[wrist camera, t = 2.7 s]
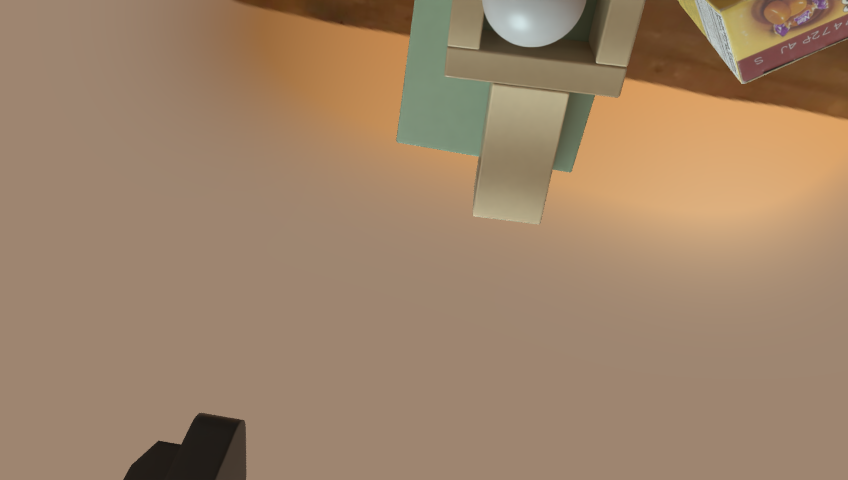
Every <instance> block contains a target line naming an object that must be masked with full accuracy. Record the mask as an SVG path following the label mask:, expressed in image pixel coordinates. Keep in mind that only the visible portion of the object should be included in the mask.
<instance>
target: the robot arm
mask: <svg viewBox="0 0 848 480" xmlns="http://www.w3.org/2000/svg"><path fill="white" fill-rule="evenodd" d="M124 480H246V427H245V421H244V420H239V419H234V418H227V417H222V416H216V415H211V414H205V413H199V414H198V415H197V416H196V417H195V419H194V420H193V422H192V424H191V426H190V428H189V430H188V432H187V434H186V436H185V438H184V440H183V442H182V444H181V445H180V444H174V443H168V442H163V441H158V442H157V443H156V444H154V445H153V446H152V447H151V448H150V449H149V450H148V451H147V452H146V453H144V454H143V455H142V456H141V457H140V458H139V459H138V460H137V461H136V462H134V463H133V464H132V465H131V467H130V469H129V470H128V472H127V474H126V476H125V478H124Z"/></svg>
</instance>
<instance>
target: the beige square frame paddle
mask: <svg viewBox="0 0 848 480" xmlns="http://www.w3.org/2000/svg"><path fill="white" fill-rule="evenodd" d="M644 4H645V0H597V4H596V8H595V13H594V17H593V21H592V26H591V30H590V34H589V39H588V40H589V42H584V41H575V40H567V39H559V40H557V41H555V42H553V43H551V44H548V45H545V46H540V47H523V46H519V45H515V44H513V43H510V42H509V41H507V40H505V39H504V38H502V37H501V36H500V35H499V34H498V33H497V32H496V31H490V30H482V28H483V20H484V9H483V4H482V0H452V7H451V16H450V25H449V34H448V43H447V44H448V46H447V52H446V62H445V71H444V76H445V77H450V78H458V79H466V80H475V81H483V82H490V86H489V93H488V99H487V106H486V112H485V119H484V126H483V132H482V139H481V145H480V152H479V159H478V166H477V172H476V179H475V186H474V200H473V216H477V217H486V218H493V219H501V220H509V221H517V222H526V223H534V224H540V223H541V219H542V214H543V209H544V205H545V201H546V196H547V191H548V187H549V183H550V178H551V174H552V170H553V165H554V161H555V156H556V152H557V147H558V143H559V138H560V134H561V129H562V125H563V120H564V116H565V112H566V107H567V103H568V98H569V92H574V93H583V94H591V95H600V96H609V97H616V98H618V97H619V96H620V93H621V89H622V86H623V82H624V78H625V75H626V71H627V68H626V66H627V65H628V63H629V60H630V56H631V52H632V48H633V45H634V41H635V37H636V34H637V30H638V26H639V22H640V19H641V15H642V11H643V8H644Z"/></svg>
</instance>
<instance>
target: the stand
mask: <svg viewBox="0 0 848 480" xmlns="http://www.w3.org/2000/svg"><path fill="white" fill-rule="evenodd" d="M482 4H483V9H484V20H483V28H482V30H490V31H496V32H497V33H498V34H499V35H500V36H501V37H502V38H504V39H505V40H507V41H509V42H510V43H513V44H515V45H519V46H523V47H540V46H545V45H548V44H551V43H553V42H555V41H557V40H559V39H567V40H575V41H584V42H589V40H588V39H589V34H590V30H591V26H592V21H593V17H594V13H595V8H596V4H597V0H482ZM451 7H452V0H415V3H414V10H413V18H412V25H411V33H410V41H409V48H408V56H407V64H406V71H405V78H404V86H403V95H402V101H401V109H400V117H399V124H398V132H397V140H396V141H397V142H398V143H405V144H410V145H416V146H421V147H428V148H433V149H439V150H444V151H450V152H456V153H462V154H467V155H473V156H479V152H480V145H481V139H482V132H483V126H484V119H485V112H486V106H487V99H488V93H489V86H490V82H483V81H475V80H466V79H458V78H450V77H445V76H444V71H445V62H446V52H447V46H448V44H447V43H448V34H449V25H450V16H451ZM594 97H595V95H591V94H583V93H574V92H569V98H568V103H567V107H566V112H565V116H564V120H563V125H562V129H561V134H560V138H559V143H558V147H557V152H556V156H555V161H554V165H553V169H554V170H559V171H565V172H571V171H572V168H573V165H574V162H575V159H576V155H577V152H578V149H579V145H580V142H581V139H582V136H583V133H584V129H585V126H586V123H587V119H588V116H589V113H590V110H591V107H592V103H593V100H594Z"/></svg>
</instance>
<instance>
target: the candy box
mask: <svg viewBox="0 0 848 480" xmlns="http://www.w3.org/2000/svg"><path fill="white" fill-rule="evenodd" d="M678 1H679V4H680V5H681V6H682V7H683V9H684V10H685V11H686V12H687V13H688V15H689V16H690V17H691V19H692V20H693V21H694V22H695V24H696V25H697V26H698V27H699V29H700V30H701V31H702V33H703V34H704V35H705V36H706V38H707V39H708V40H709V42H710V43H711V44H712V46H713V47H714V49H715V50H716V51H717V52H718V54H719V55H720V56H721V58H722V59H723V60H724V62H725V63H726V64H727V66H728V67H729V68H730V69H731V71H732V72H733V73H734V75H735V76H736V77H737V79H738V80H739V81H740V82H741V83H742V84H745V83H748V82H750V81H752V80H755V79H757V78H759V77H761V76H763V75H766V74H768V73H770V72H772V71H775V70H777V69H779V68H781V67H784V66H786V65H788V64H791V63H793V62H795V61H797V60H800V59H802V58H804V57H807V56H809V55H811V54H813V53H815V52H818V51H820V50H823V49H825V48H827V47H830V46H832V45H834V44H837V43H839V42H841V41H844V40H846V39H848V0H678Z"/></svg>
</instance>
